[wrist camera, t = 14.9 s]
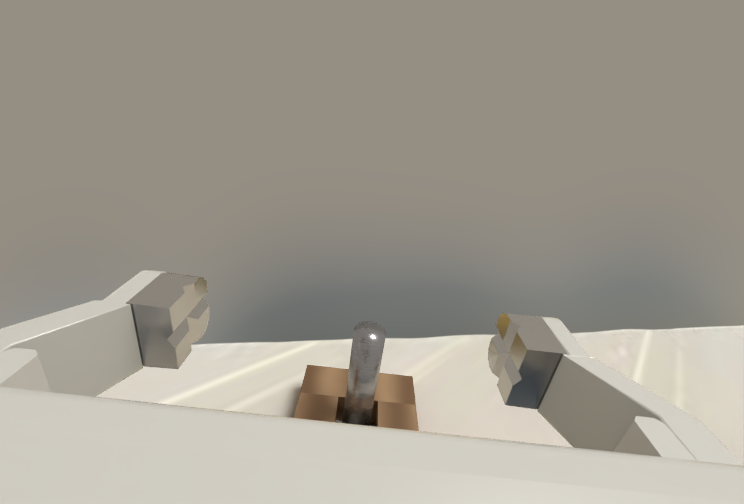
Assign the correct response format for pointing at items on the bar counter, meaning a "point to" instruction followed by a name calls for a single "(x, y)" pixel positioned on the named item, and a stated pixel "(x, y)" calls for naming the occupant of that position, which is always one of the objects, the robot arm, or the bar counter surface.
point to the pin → (363, 372)
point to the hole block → (328, 394)
